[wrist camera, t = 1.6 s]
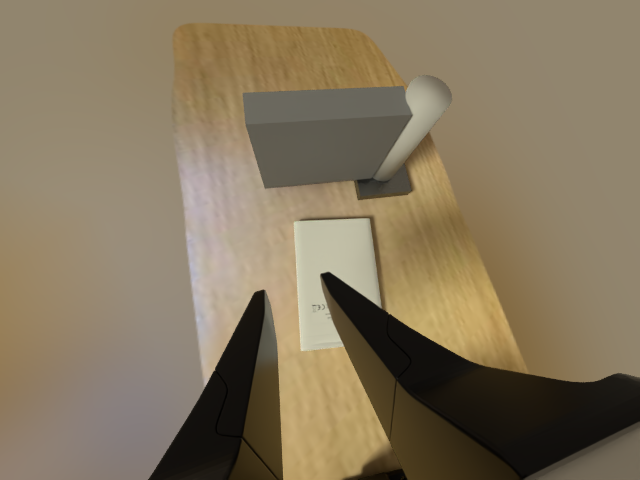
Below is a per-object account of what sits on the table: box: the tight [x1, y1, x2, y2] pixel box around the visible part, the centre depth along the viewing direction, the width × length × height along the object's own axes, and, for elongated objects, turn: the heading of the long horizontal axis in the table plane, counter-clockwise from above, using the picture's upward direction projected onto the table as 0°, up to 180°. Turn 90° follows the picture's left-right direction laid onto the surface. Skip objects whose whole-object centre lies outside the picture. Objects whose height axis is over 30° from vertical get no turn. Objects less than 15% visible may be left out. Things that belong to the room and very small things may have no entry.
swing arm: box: [243, 75, 452, 188], centre depth 20 cm, size 3×15×10 cm, turn 99°
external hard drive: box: [294, 218, 382, 351], centre depth 23 cm, size 2×8×12 cm
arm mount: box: [354, 163, 412, 200], centre depth 26 cm, size 6×6×1 cm
